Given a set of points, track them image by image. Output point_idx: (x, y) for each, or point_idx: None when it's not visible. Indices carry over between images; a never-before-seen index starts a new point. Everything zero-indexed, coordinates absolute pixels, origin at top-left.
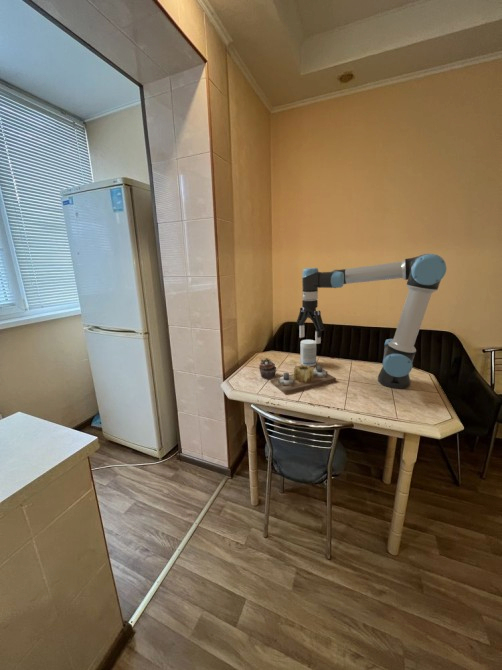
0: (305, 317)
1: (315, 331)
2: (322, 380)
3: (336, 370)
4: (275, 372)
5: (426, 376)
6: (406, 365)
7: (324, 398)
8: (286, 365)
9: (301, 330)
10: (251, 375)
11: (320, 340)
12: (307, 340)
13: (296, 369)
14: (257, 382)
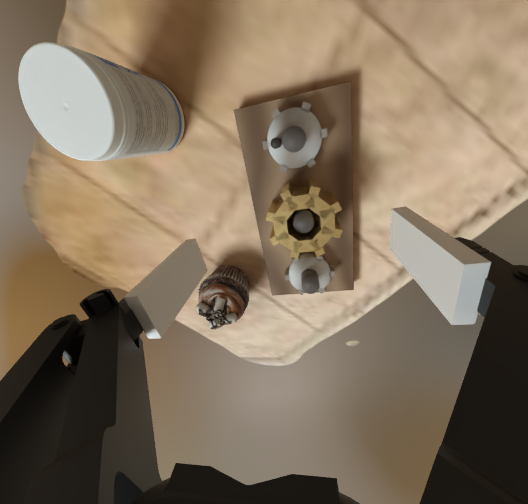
0: (145, 463)
1: (449, 320)
2: (345, 154)
3: (244, 6)
4: (234, 272)
5: None
6: None
7: (433, 198)
8: (161, 206)
9: (180, 295)
10: None
11: (417, 215)
12: (40, 100)
13: (301, 251)
14: (261, 314)
